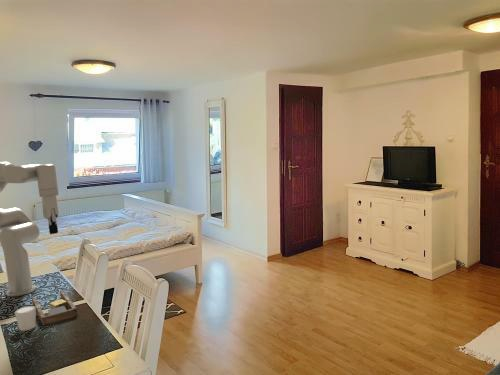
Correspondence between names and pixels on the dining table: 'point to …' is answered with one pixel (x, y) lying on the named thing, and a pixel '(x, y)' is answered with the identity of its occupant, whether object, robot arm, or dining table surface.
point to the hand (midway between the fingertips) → (53, 233)
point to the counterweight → (56, 310)
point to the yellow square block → (58, 304)
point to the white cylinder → (26, 318)
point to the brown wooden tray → (57, 316)
